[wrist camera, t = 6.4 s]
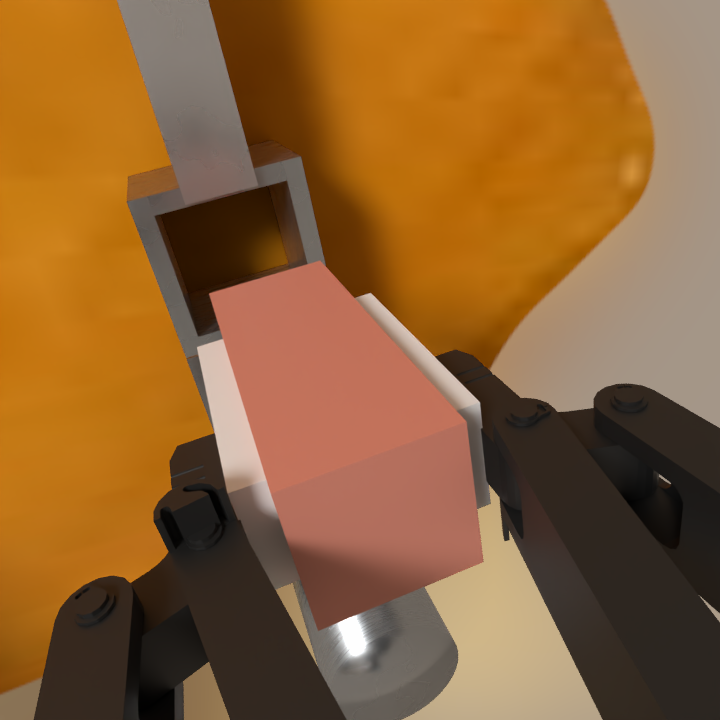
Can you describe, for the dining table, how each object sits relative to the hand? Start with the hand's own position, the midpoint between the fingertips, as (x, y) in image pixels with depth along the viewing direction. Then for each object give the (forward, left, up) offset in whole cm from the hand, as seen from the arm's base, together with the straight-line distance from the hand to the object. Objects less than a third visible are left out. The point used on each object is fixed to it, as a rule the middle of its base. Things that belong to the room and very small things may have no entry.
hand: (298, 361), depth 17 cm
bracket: (0, +6, -16) cm, 17 cm away
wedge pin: (0, 0, -3) cm, 3 cm away
